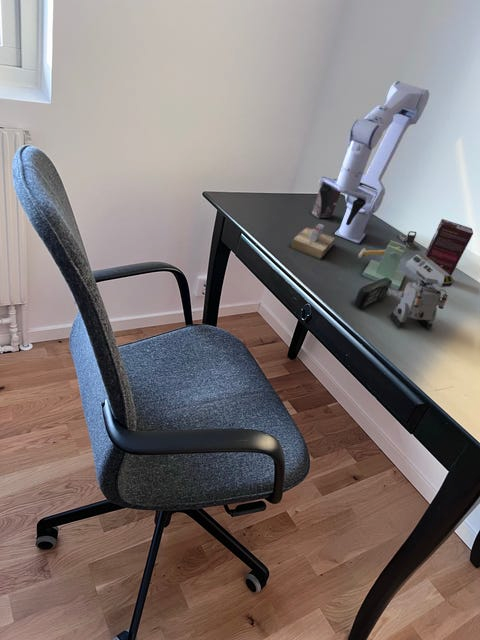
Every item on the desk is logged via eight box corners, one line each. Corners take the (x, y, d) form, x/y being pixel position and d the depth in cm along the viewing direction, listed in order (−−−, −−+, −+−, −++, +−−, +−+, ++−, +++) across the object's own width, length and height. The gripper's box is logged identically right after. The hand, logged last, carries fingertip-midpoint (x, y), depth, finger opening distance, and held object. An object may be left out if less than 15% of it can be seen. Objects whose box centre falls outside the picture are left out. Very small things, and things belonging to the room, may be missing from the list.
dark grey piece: (368, 294, 107) (398, 277, 117) (357, 287, 108) (388, 271, 118) (360, 311, 110) (390, 294, 120) (350, 305, 111) (380, 288, 121)
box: (319, 219, 153) (331, 183, 146) (310, 213, 156) (322, 177, 149) (332, 218, 157) (344, 183, 150) (324, 212, 159) (335, 178, 153)
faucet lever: (358, 260, 126) (357, 252, 125) (362, 253, 131) (362, 245, 130) (398, 259, 122) (398, 250, 121) (401, 252, 126) (401, 244, 125)
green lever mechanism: (362, 275, 125) (375, 244, 120) (370, 262, 133) (382, 233, 128) (398, 290, 123) (413, 259, 118) (404, 276, 131) (418, 246, 126)
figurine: (409, 305, 117) (436, 252, 109) (433, 333, 108) (465, 278, 100) (378, 303, 115) (402, 248, 106) (400, 332, 106) (429, 275, 97)
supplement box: (446, 277, 137) (473, 228, 128) (446, 284, 133) (474, 233, 124) (417, 267, 138) (441, 217, 129) (416, 274, 134) (442, 223, 125)
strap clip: (397, 236, 156) (402, 225, 153) (405, 237, 157) (410, 225, 154) (410, 249, 149) (416, 237, 147) (418, 249, 150) (424, 237, 148)
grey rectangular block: (315, 234, 135) (319, 222, 133) (320, 236, 134) (324, 224, 132) (309, 240, 131) (313, 228, 128) (314, 242, 130) (318, 230, 128)
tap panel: (303, 234, 140) (306, 226, 138) (333, 246, 137) (336, 238, 136) (289, 246, 130) (292, 238, 129) (321, 259, 128) (324, 251, 126)
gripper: (321, 162, 119) (305, 212, 126) (374, 182, 114) (355, 232, 122) (331, 158, 124) (315, 206, 132) (382, 177, 120) (363, 226, 127)
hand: (335, 218), depth 127 cm, fingers open, 7 cm apart
